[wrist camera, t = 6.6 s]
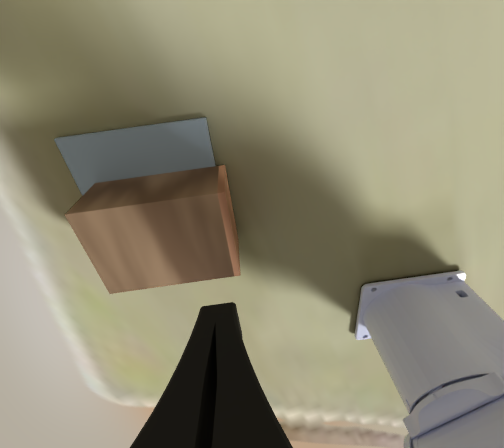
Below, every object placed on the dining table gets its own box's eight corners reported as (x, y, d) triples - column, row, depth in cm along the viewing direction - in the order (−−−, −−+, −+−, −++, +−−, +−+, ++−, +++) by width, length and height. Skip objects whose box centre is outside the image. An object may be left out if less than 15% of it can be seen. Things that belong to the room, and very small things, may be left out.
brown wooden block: (224, 192, 15) (64, 214, 14) (240, 275, 18) (109, 293, 18) (224, 164, 18) (94, 183, 18) (238, 238, 21) (128, 254, 21)
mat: (206, 117, 16) (205, 118, 16) (235, 266, 23) (235, 269, 23) (56, 137, 16) (53, 139, 16) (128, 281, 23) (127, 284, 23)
